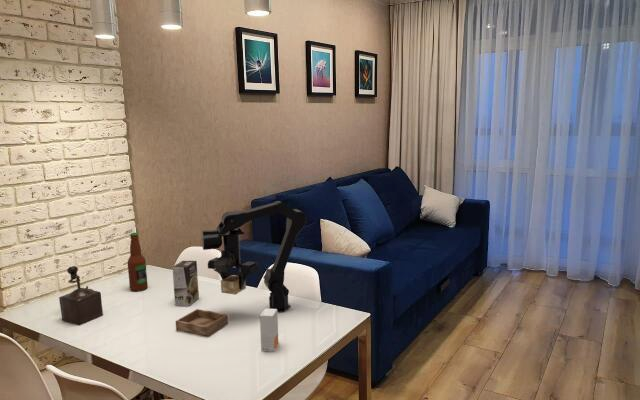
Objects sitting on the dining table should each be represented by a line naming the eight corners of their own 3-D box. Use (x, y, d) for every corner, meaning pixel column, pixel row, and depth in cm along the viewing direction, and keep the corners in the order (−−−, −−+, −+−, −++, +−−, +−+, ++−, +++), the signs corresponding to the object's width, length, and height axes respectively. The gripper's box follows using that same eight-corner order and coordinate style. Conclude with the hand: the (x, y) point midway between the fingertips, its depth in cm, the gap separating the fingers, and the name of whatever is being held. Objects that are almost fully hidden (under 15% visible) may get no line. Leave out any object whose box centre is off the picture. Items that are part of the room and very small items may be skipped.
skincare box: (274, 352, 151) (272, 316, 149) (260, 351, 152) (259, 315, 150) (279, 343, 157) (277, 308, 155) (266, 342, 158) (264, 307, 156)
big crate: (228, 323, 173) (227, 314, 172) (207, 337, 163) (207, 327, 162) (197, 317, 179) (197, 308, 178) (176, 330, 168) (175, 321, 168)
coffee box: (189, 306, 189) (186, 267, 187) (174, 305, 191) (171, 266, 188) (199, 298, 198) (197, 260, 196) (185, 297, 200) (182, 259, 197)
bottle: (144, 291, 207) (139, 235, 203) (127, 292, 207) (121, 235, 203) (150, 286, 214) (145, 231, 210) (133, 286, 214) (129, 231, 210)
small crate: (245, 288, 180) (245, 276, 179) (235, 294, 174) (234, 282, 173) (232, 286, 183) (231, 274, 182) (221, 292, 176) (220, 280, 176)
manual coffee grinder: (105, 314, 184) (100, 269, 181) (79, 325, 174) (74, 278, 171) (78, 307, 191) (73, 264, 188) (52, 318, 181) (46, 272, 178)
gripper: (196, 249, 172) (199, 291, 175) (240, 255, 164) (242, 298, 167) (215, 242, 182) (218, 282, 185) (258, 247, 174) (259, 288, 177)
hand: (233, 287), depth 178 cm, fingers closed on small crate, 6 cm apart
